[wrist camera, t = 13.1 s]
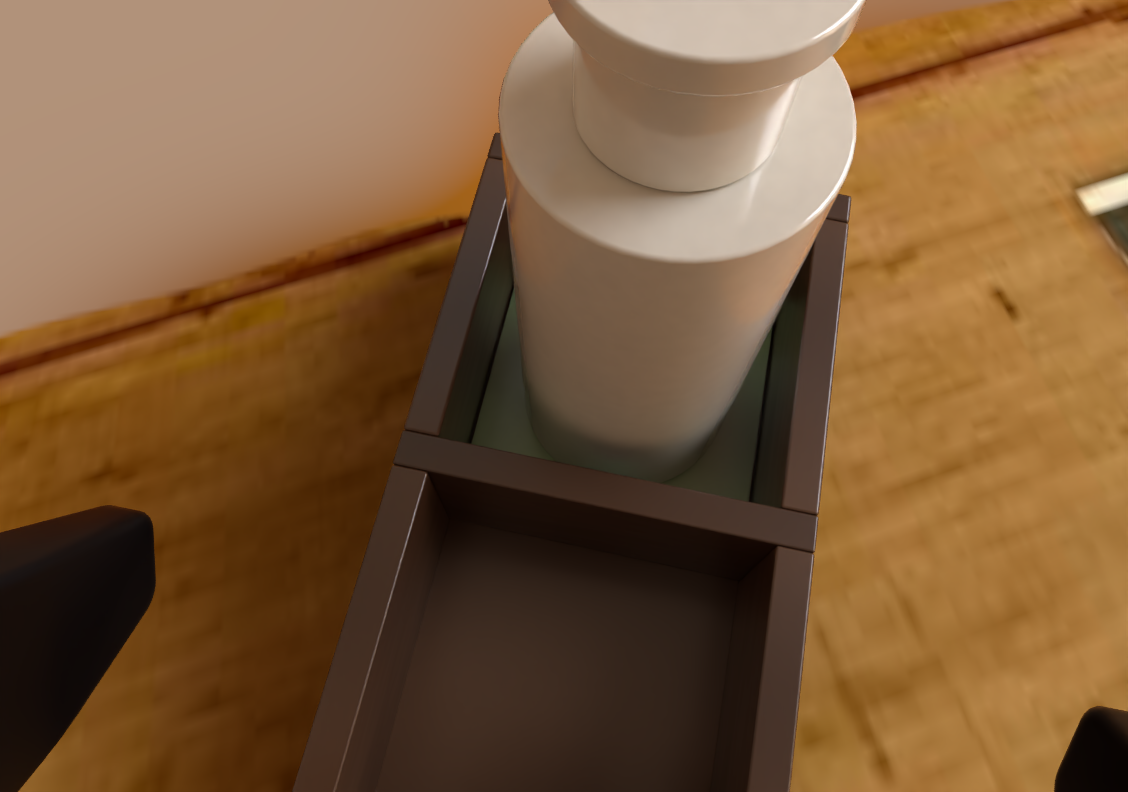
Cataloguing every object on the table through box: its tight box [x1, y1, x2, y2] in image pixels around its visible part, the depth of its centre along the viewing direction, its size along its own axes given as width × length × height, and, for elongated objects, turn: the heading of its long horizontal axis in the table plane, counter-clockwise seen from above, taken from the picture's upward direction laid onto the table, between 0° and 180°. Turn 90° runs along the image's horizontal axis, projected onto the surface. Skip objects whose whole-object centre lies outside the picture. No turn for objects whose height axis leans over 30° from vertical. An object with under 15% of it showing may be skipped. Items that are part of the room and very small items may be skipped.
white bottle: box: [498, 0, 867, 483], centre depth 17 cm, size 5×5×14 cm
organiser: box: [292, 133, 851, 792], centre depth 20 cm, size 17×9×4 cm, turn 168°
